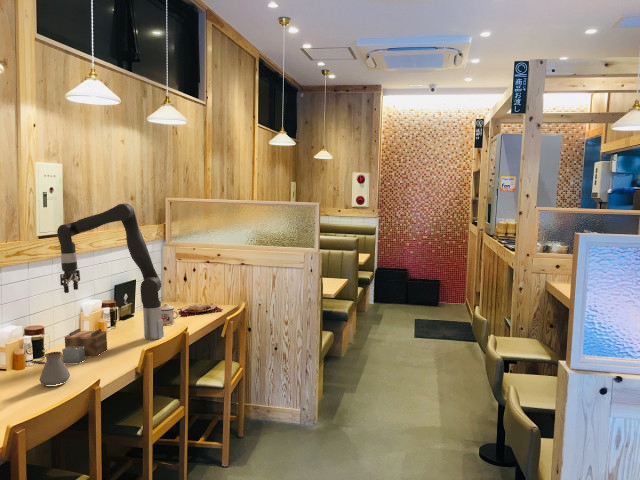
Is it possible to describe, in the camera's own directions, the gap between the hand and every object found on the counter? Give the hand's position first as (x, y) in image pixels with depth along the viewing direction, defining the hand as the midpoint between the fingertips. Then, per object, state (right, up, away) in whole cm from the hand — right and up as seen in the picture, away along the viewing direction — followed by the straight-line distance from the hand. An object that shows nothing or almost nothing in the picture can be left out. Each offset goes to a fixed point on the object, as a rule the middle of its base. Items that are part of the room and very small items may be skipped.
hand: (71, 291), depth 274 cm
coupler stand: (+18, -29, -20) cm, 39 cm away
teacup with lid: (+42, -23, +36) cm, 60 cm away
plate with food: (+52, -20, +66) cm, 87 cm away
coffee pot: (+22, -34, -64) cm, 76 cm away
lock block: (+18, -30, -33) cm, 48 cm away
